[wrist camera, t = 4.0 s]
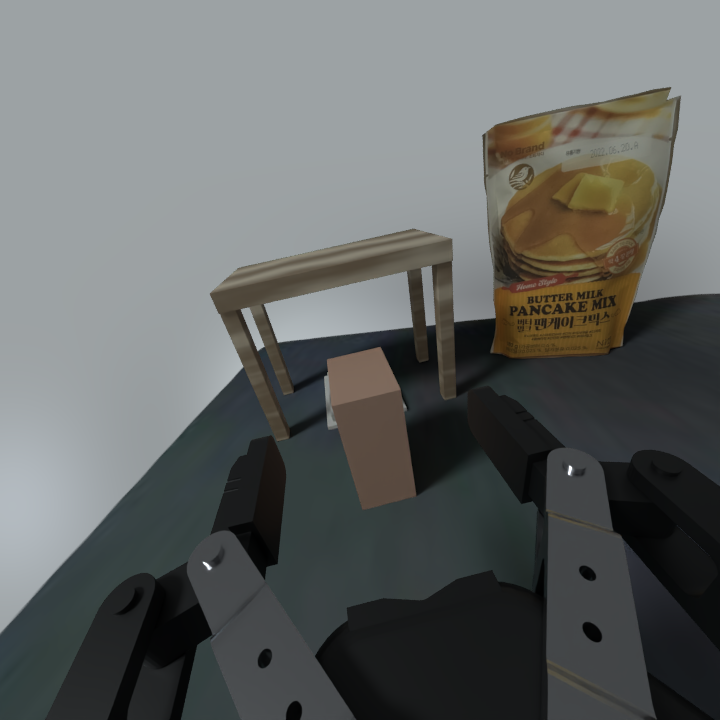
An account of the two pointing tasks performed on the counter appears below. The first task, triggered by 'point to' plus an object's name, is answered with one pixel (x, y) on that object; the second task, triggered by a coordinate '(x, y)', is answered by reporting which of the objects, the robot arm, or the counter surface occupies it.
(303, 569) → the counter surface
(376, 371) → the plain brown box
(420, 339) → the small wooden table
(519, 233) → the pancake mix bag
